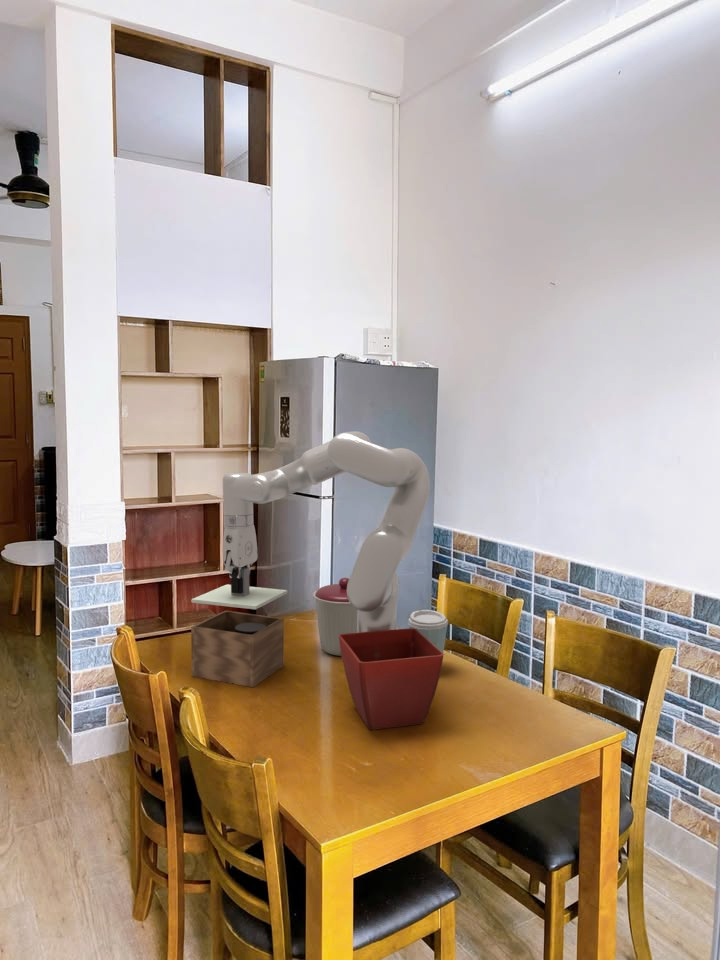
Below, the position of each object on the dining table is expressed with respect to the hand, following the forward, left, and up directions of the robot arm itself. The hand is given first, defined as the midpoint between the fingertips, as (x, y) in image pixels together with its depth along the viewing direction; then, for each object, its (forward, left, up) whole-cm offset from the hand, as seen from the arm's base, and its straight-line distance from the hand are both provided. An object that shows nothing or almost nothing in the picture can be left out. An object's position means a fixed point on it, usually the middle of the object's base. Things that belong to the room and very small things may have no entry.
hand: (240, 590), depth 187 cm
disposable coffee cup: (-44, -21, -22) cm, 54 cm away
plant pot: (-44, +10, -22) cm, 50 cm away
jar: (-2, -1, -22) cm, 22 cm away
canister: (-18, -26, -22) cm, 39 cm away
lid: (0, 0, -2) cm, 2 cm away
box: (+1, 0, -21) cm, 21 cm away
